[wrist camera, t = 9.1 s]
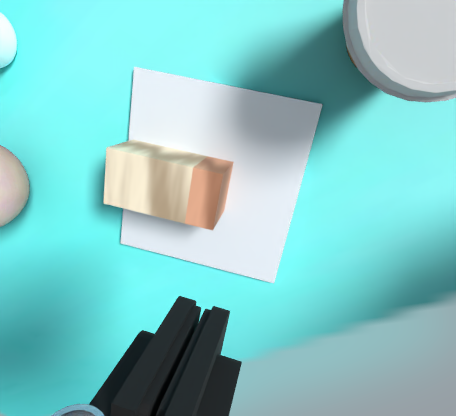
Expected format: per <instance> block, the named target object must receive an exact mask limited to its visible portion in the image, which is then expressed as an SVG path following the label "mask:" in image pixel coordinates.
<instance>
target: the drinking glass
mask: <svg viewBox="0 0 456 416" xmlns="http://www.w3.org/2000/svg"><path fill="white" fill-rule="evenodd" d="M16 51H17V38H16V34H15V31H14V29H13V27H12V25H11V23H10V22H9V20H8V19H7V18H6V17H5V16H4V15H3V14H2V13H1V12H0V68H3V67H5V66H7V65H9V64H10V63H11V62H12V61H13V59H14V57H15V55H16Z"/></svg>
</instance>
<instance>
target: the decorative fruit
mask: <svg viewBox="0 0 456 416" xmlns="http://www.w3.org/2000/svg"><path fill="white" fill-rule="evenodd" d="M28 197H29V179H28V176H27V173H26V171H25V169H24V167H23V165H22V163H21V162H20V161H19V159H18V158H17V157H16V156H15V155H14V154H13V153H12V152H10V151H9V150H8V149H6V148H5V147H3V146H1V145H0V227H1V226H4V225H5V224H7V223H9V222H10V221H12V220H13V219H14V218H15V217H16V216H17V215H18V214H19V213H20V212H21V211H22V209H23V208H24V206H25V204H26V202H27V200H28Z"/></svg>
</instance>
